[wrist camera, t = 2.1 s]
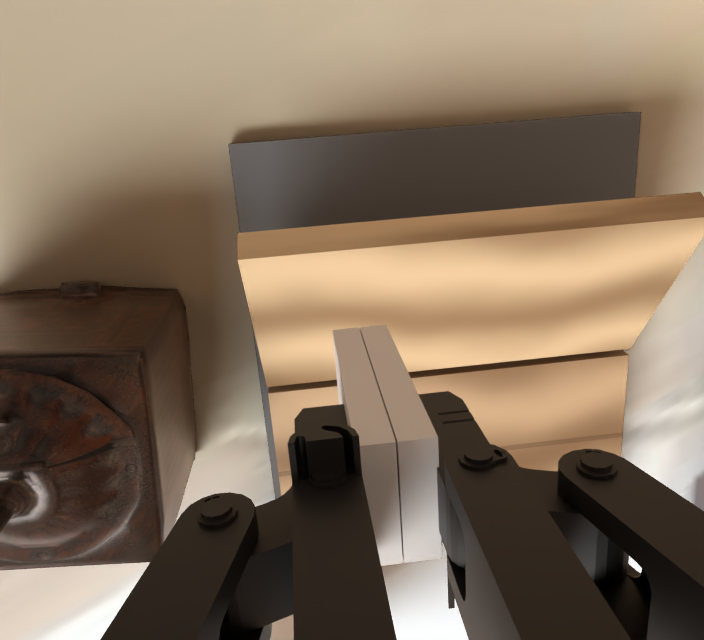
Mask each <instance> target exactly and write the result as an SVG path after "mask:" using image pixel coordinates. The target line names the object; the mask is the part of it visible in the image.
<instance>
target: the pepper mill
mask: <svg viewBox="0 0 704 640" xmlns="http://www.w3.org/2000/svg"><path fill="white" fill-rule="evenodd" d="M195 444H196V424H195V411H194V399H193V386H192V373H191V361H190V348H189V337H188V326H187V316H186V307H185V305H184V303H183V301H182V298H181V296H180V294H179V292H178V290H177V289H154V288H130V287H114V286H100V284H99V282H88V281H79V282H69V283H62V284H61V289H44V290H26V291H14V292H9V293H4V294H0V570H14V569H31V568H48V567H65V566H83V565H102V564H121V563H140V562H151V561H152V559H153V558H154V556H155V555H156V553H157V551H158V550H159V548H160V547H161V545H162V544H163V542H164V541H165V539H166V538H167V536H168V534H169V533H170V531H171V530H172V528H173V527H174V524H175V521H176V518H177V515H178V512H179V509H180V505H181V502H182V499H183V495H184V492H185V488H186V485H187V481H188V478H189V474H190V471H191V467H192V464H193V461H194V460H195Z"/></svg>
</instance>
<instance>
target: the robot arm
mask: <svg viewBox="0 0 704 640" xmlns="http://www.w3.org/2000/svg"><path fill="white" fill-rule="evenodd" d="M332 331H333V343H334V354H335V365H336V377H337V388H338V399H339V405H330V406H320V407H311V408H303V409H302V410H301V412H300V413H299V414H298V415H297V417H296V418H295V419H294V424H295V433H294V434H292V435H291V436H290V438H289V441H288V443H287V444H288V453H289V461H290V469H291V477H292V486H291V488H290V489H289V490H288V491H287V492H286V493H285V494H283V495H282V496H280V497H279V498H277V499H275V500H273V501H270V502H268V503H266V504H263V505H260V506H257V507H255V506H254V504H253V502H252V500H251V499H249V498H247V497H246V496H244V495H242V494H236V493H219V494H214V495H211V496H207V497H204V498H202V499H200V500H198V501H196V502H195V503H193V504H191V505H190V506H189V507H188V508H187V509H186V510H185V511H184V512H183V513H182V514H181V516H180V517H179V519H178V520H177V522H176V524H175V525H174V527H173V528H172V530H171V531H170V533H169V534H168V536H167V538H166V539H165V541H164V542H163V544H162V545H161V547H160V548H159V550H158V551H157V553H156V555H155V556H154V558H153V559H152V561H151V562H150V564H149V565H148V567H147V569H146V570H145V572H144V573H143V575H142V576H141V578H140V579H139V581H138V582H137V584H136V586H135V587H134V589H133V590H132V592H131V593H130V595H129V596H128V598H127V599H126V601H125V603H124V604H123V606H122V607H121V609H120V610H119V612H118V613H117V615H116V617H115V618H114V620H113V621H112V623H111V624H110V626H109V627H108V629H107V630H106V632H105V634H104V635H103V637H102V638H101V640H270V637H271V632H272V623H273V622H276V621H278V620H281V619H283V618H286V617H288V616H290V615H293V623H294V640H396V635H395V630H394V625H393V621H392V616H391V611H390V606H389V601H388V597H387V592H386V587H385V582H384V577H383V573H382V568H381V566H386V565H394V564H402V563H403V560H404V563H410V562H418V561H425V560H433V559H441V558H442V544H441V538H442V540H443V543H444V546H445V549H446V551H447V572H448V603H449V608H454V599H456V602H457V605H458V608H459V611H460V614H461V617H462V620H463V623H464V626H465V629H466V632H467V635H468V638H469V640H704V511H702V510H701V509H699V508H698V507H696V506H695V505H693V504H692V503H690V502H689V501H687V500H686V499H684V498H683V497H681V496H680V495H678V494H677V493H675V492H674V491H672V490H671V489H669V488H668V487H666V486H665V485H663V484H662V483H660V482H659V481H657V480H656V479H654V478H653V477H651V476H650V475H648V474H647V473H645V472H644V471H642V470H641V469H639V468H638V467H636V466H635V465H633V464H632V463H630V462H629V461H627V460H626V459H624V458H622V457H620V456H618V455H616V454H614V453H610V452H606V451H602V450H599V449H581V450H574V451H571V452H568V453H566V454H564V455H563V456H562V457H561V458H560V460H559V461H558V471H546V470H534V469H527V468H522V467H519V466H518V464H517V463H516V461H515V459H514V458H513V456H512V455H511V454H509V453H508V452H507V451H506V450H505V449H503V448H500V447H498V446H496V445H492V444H490V443H489V442H488V440H487V438H486V437H485V435H484V434H483V432H482V430H481V429H480V427H479V425H478V424H477V422H476V421H474V417H473V416H472V414H471V412H469V409H468V407H467V406H466V404H465V403H464V401H463V399H461V398H459V397H458V396H456V395H454V394H453V393H451V392H449V391H445V392H435V393H426V394H418V393H417V390H416V388H415V386H414V384H413V382H412V380H411V377H410V375H409V373H408V371H407V369H406V367H405V365H404V362H403V360H402V358H401V356H400V354H399V352H398V349H397V347H396V345H395V343H394V341H393V339H392V336H391V334H390V332H389V330H388V328H387V326H386V325H377V326H367V327H360V330H359V327H357V328H347V329H337V330H332ZM402 556H403V559H402ZM629 556H630V557H631V558H633V559H634V560H635V561H636V562H637V563H638V564H639V565H640V566H641V567H642V572H641V573H639V572H638V571H636V570H635V569H634V568H633V567H631V566H630V565H629V564H628V560H629Z"/></svg>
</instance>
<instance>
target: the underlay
mask: <svg viewBox="0 0 704 640" xmlns="http://www.w3.org/2000/svg"><path fill="white" fill-rule="evenodd" d="M640 120H641V112H627V113H614V114H601V115H589V116H576V117H563V118H551V119H538V120H525V121H513V122H500V123H487V124H475V125H462V126H449V127H437V128H424V129H411V130H399V131H386V132H373V133H361V134H348V135H335V136H322V137H310V138H297V139H284V140H272V141H259V142H246V143H234V144H229V152H230V160H231V167H232V175H233V182H234V190H235V198H236V205H237V213H238V220H239V228H240V233H244V232H255V231H266V230H278V229H289V228H300V227H312V226H323V225H334V224H345V223H357V222H368V221H379V220H391V219H402V218H413V217H424V216H436V215H447V214H458V213H470V212H481V211H492V210H503V209H515V208H526V207H537V206H549V205H560V204H571V203H582V202H594V201H605V200H616V199H627V198H635V186H636V173H637V159H638V146H639V133H640ZM252 326H253V324H252ZM253 333H254V329H253ZM254 341H255V348H256V356H257V363H258V371H259V378H260V386H261V394H262V401H263V409H264V416H265V424H266V431H267V439H268V446H269V454H270V461H271V469H272V476H273V484H274V492H275V499H277V498H279V497H280V496H281V490H280V482H279V474H278V466H277V459H276V451H275V443H274V435H273V428H272V420H271V412H270V404H269V397H268V389H269V387H267V384H266V380H265V376H264V371H263V367H262V363H261V359H260V354H259V350H258V346H257V341H256V337H255V333H254ZM622 351H623V349H622ZM441 542H443V540H442V538H441Z"/></svg>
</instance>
